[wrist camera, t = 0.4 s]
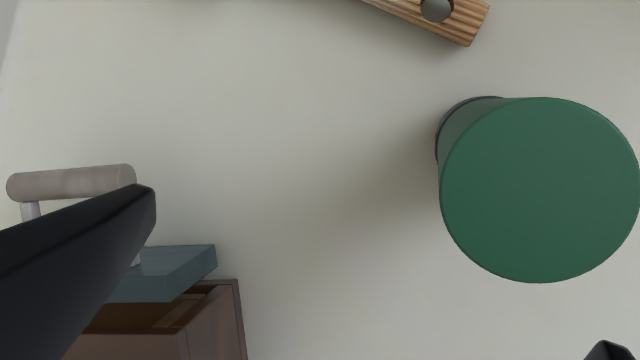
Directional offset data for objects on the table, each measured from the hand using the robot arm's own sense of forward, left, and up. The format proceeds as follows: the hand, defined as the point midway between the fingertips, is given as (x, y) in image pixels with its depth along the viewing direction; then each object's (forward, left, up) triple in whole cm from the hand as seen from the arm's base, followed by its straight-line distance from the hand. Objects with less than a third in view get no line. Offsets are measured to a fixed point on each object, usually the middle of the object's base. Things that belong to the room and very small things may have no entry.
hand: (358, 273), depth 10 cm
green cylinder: (+1, -4, -14) cm, 15 cm away
